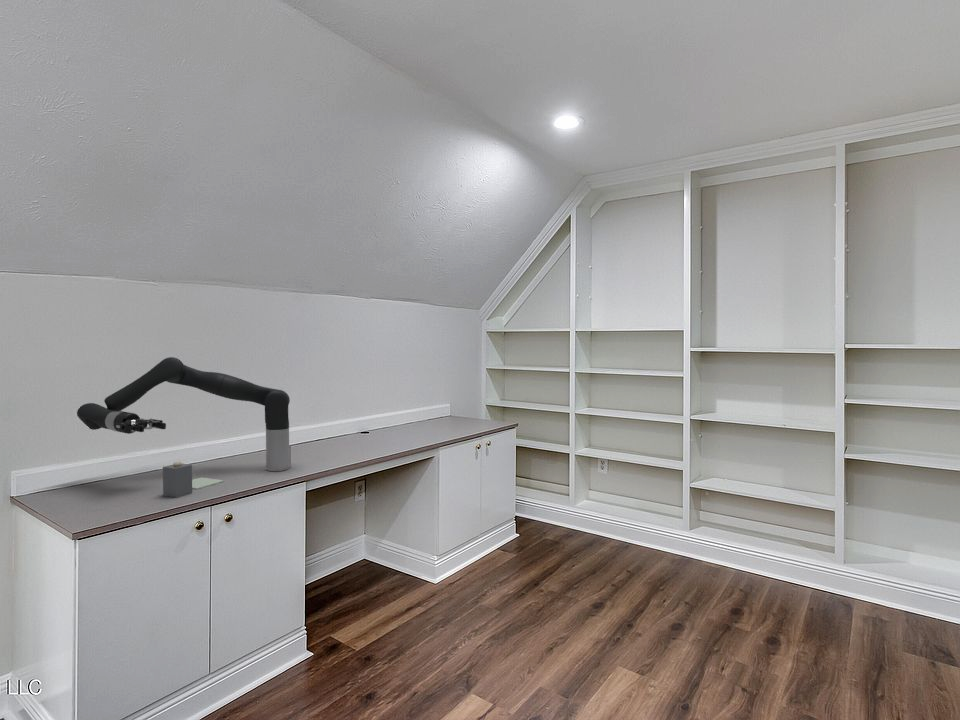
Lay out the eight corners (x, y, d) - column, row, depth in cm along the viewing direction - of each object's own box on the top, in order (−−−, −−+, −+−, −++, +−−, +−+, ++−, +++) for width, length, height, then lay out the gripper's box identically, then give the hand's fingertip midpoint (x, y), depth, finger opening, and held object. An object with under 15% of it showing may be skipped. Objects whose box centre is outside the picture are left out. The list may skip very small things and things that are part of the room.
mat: (201, 478, 216) (201, 477, 216) (224, 481, 211) (224, 480, 211) (173, 485, 205) (173, 484, 205) (197, 489, 200) (197, 488, 200)
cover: (179, 490, 198) (179, 460, 198) (192, 492, 196) (191, 462, 195) (163, 495, 192) (162, 463, 192) (176, 497, 190) (175, 465, 189)
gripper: (104, 413, 196) (136, 419, 190) (141, 410, 209) (172, 415, 203) (102, 434, 196) (134, 440, 190) (140, 429, 209) (171, 435, 204)
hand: (154, 427), depth 197 cm, fingers open, 8 cm apart
